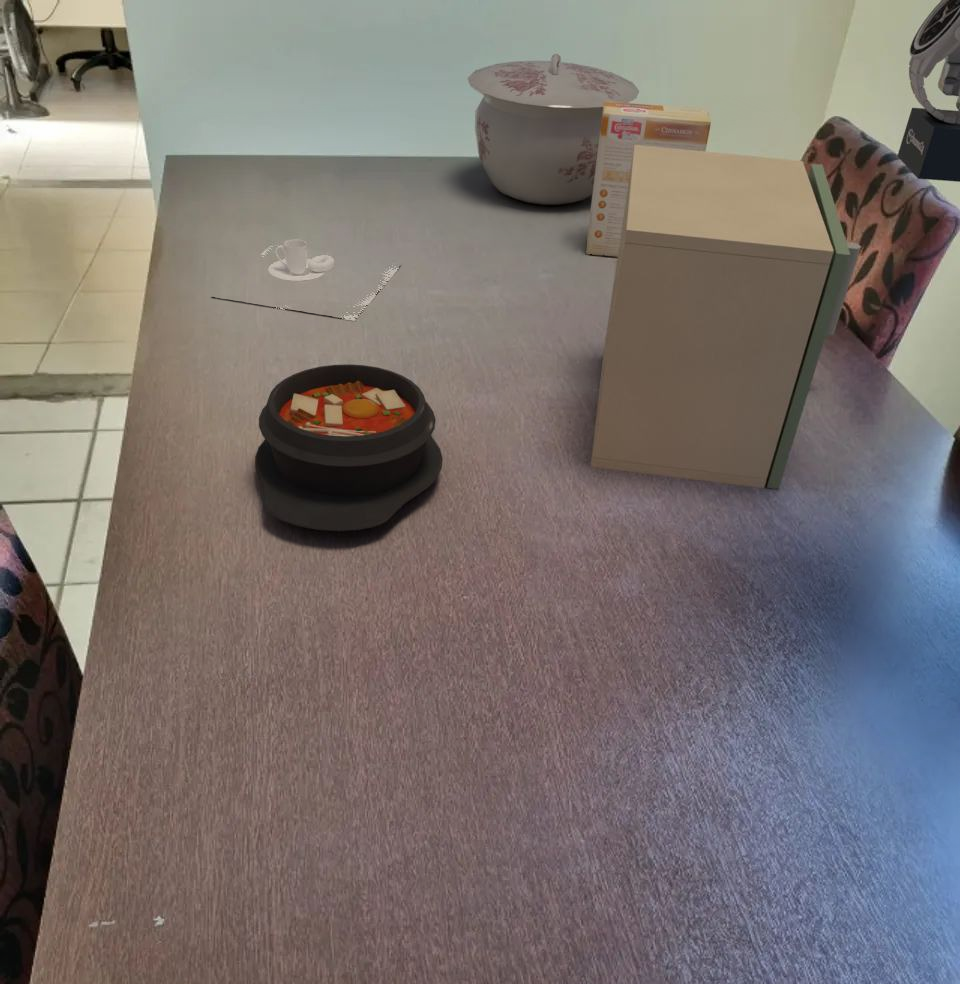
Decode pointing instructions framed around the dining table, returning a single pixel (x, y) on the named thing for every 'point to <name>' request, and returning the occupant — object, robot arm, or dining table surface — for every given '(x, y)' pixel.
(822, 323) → the cupboard door
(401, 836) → the dining table surface
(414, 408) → the casserole
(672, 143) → the coffeecake box
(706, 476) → the cupboard
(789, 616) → the dining table surface
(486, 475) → the dining table surface
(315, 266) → the teacup and saucer
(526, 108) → the chamber pot
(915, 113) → the watch
